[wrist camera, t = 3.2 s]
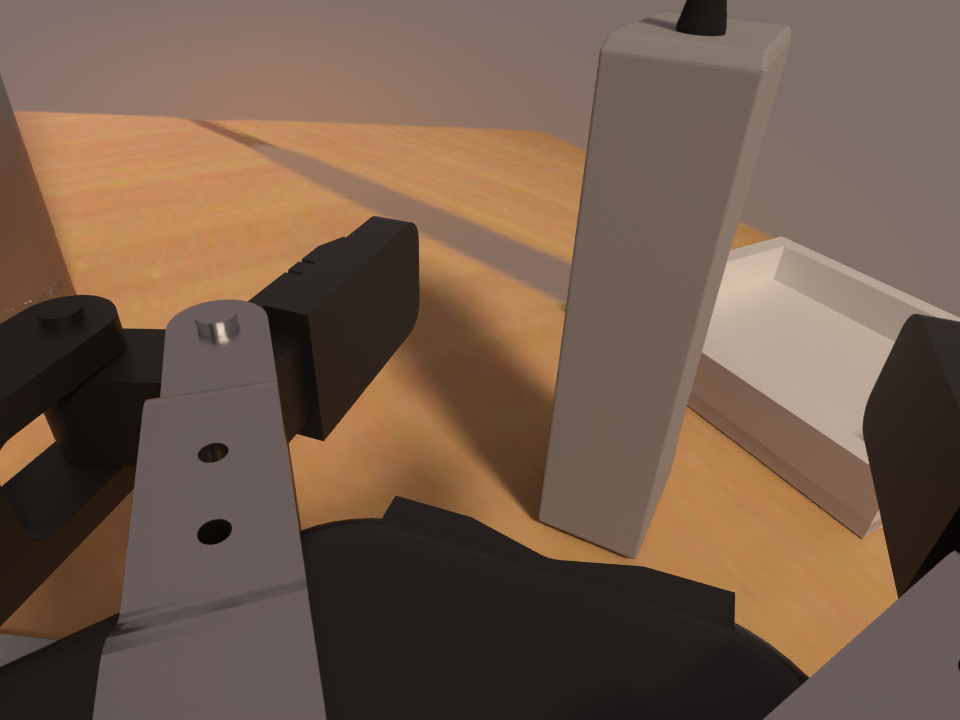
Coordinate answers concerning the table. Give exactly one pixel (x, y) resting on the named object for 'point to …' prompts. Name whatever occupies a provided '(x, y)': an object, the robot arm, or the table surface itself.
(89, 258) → the table surface
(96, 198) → the table surface
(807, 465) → the tray
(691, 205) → the vintage mobile phone
